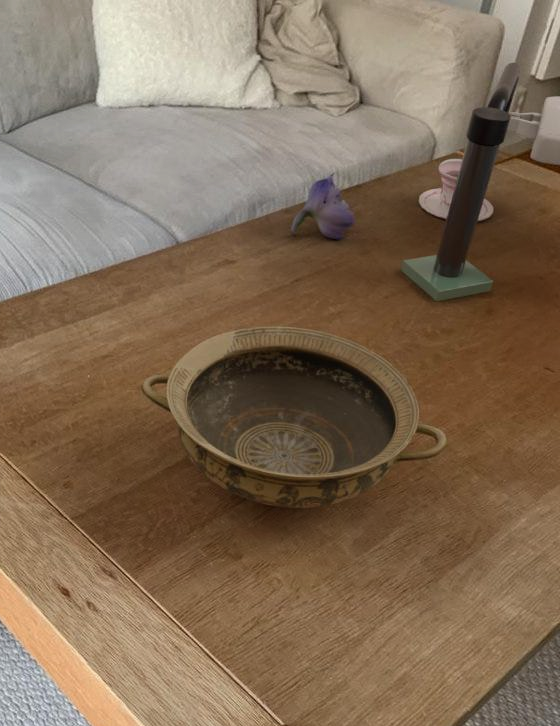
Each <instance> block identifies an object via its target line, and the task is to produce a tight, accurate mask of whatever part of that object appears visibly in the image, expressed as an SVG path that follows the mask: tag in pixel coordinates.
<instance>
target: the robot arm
mask: <svg viewBox="0 0 560 726" xmlns="http://www.w3.org/2000/svg"><path fill="white" fill-rule="evenodd" d="M509 114H510V115H511V119H510V122H509V125H508V129H507V132H512V133H516V134H518V135H520V136H522V137H524V138H526V139H531V140H533V143H532V147H531V151H530V159H531V160H533V161H535V162H538V163H542V164H549V165H556V166H560V96H558V95H557V96H556V95H555V96H548V97H546V98H545V99H544V103H543V105H542V108H541V111H540V113H539V112H515V111H509Z"/></svg>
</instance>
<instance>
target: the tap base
mask: <svg viewBox="0 0 560 726" xmlns="http://www.w3.org/2000/svg"><path fill="white" fill-rule="evenodd" d="M500 147H501V144H499V145H483V144H479V143H475V142H473V141H471V140H469V139H468V138H467V141H466V144H465V148H464V152H463V156H462V158H461V159H462V163H461V166H460V170H459V174H458V178H457V181H456V185H455V189H454V193H453V196H452V200H451V204H450V208H449V211H448V215H447V219H445V223H444V226H443V231H442V234H441V238H440V241H439V246H438V249H437V253H436V254H434V255H427V256H422V257H421V256H420V257H417V258H410V259H403V260H402V264H401V268H400V271H401V272H402V273H403V274H404V275H405V276H406V277H408V278H409V279H410V280H411V281H412V282H413V283H414V284H416V286H418V287H419V288H420V289H421V290H423V291H424V292H425V293H426V294H427V295H428V296H430V297H431V298H432V300H434V301H435V302H441V301H447V300H451V299H457V298H462V297H468V296H472V295H473V296H474V295H478V294H483V293H489V292H491V290H492V287H493V284H494V280H493V279H491V278H490V277H489V276H488V275H486V274H485V273H483V272H482V271H481V270H480V269H478V268H477V267H476V266H474V265H473V264H472V263H470V261H468V260H467V258H468V255H469V251H470V249H471V244H472V241H473V240H474V239H473V238H474V235H475V231H476V228H477V226H478V222H479V221H478V218H479V215H480V211H481V208H482V205H483V201H484V199H486V198H485V197H486V194H487V190H488V188H489V183H490V181H491V177H492V174H493V170H494V167H495V164H496V160H497V157H498V154H499V150H500Z"/></svg>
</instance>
